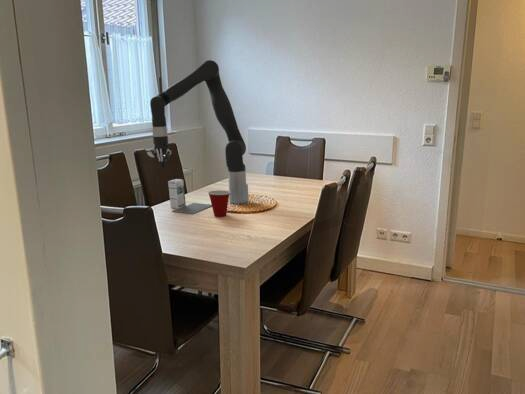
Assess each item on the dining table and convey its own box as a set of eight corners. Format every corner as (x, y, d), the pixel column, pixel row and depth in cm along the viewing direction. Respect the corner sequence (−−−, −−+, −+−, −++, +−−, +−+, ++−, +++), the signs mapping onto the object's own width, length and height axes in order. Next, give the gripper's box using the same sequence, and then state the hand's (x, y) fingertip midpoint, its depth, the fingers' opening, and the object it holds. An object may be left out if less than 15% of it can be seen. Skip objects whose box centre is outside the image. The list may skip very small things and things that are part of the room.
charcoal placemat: (213, 205, 253) (213, 204, 253) (192, 214, 237) (192, 213, 237) (193, 203, 259) (193, 202, 259) (172, 211, 244) (172, 211, 244)
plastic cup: (236, 214, 233) (235, 190, 230) (219, 219, 226) (217, 194, 223) (222, 211, 240) (220, 187, 238) (204, 216, 233) (203, 191, 230)
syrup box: (177, 208, 249) (175, 181, 246) (170, 207, 253) (167, 180, 249) (186, 206, 253) (183, 179, 250) (178, 205, 257) (176, 178, 254)
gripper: (175, 134, 248) (177, 167, 252) (155, 134, 255) (158, 166, 259) (165, 136, 242) (168, 170, 246) (145, 135, 248) (148, 168, 252)
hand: (163, 168), depth 252 cm, fingers closed
